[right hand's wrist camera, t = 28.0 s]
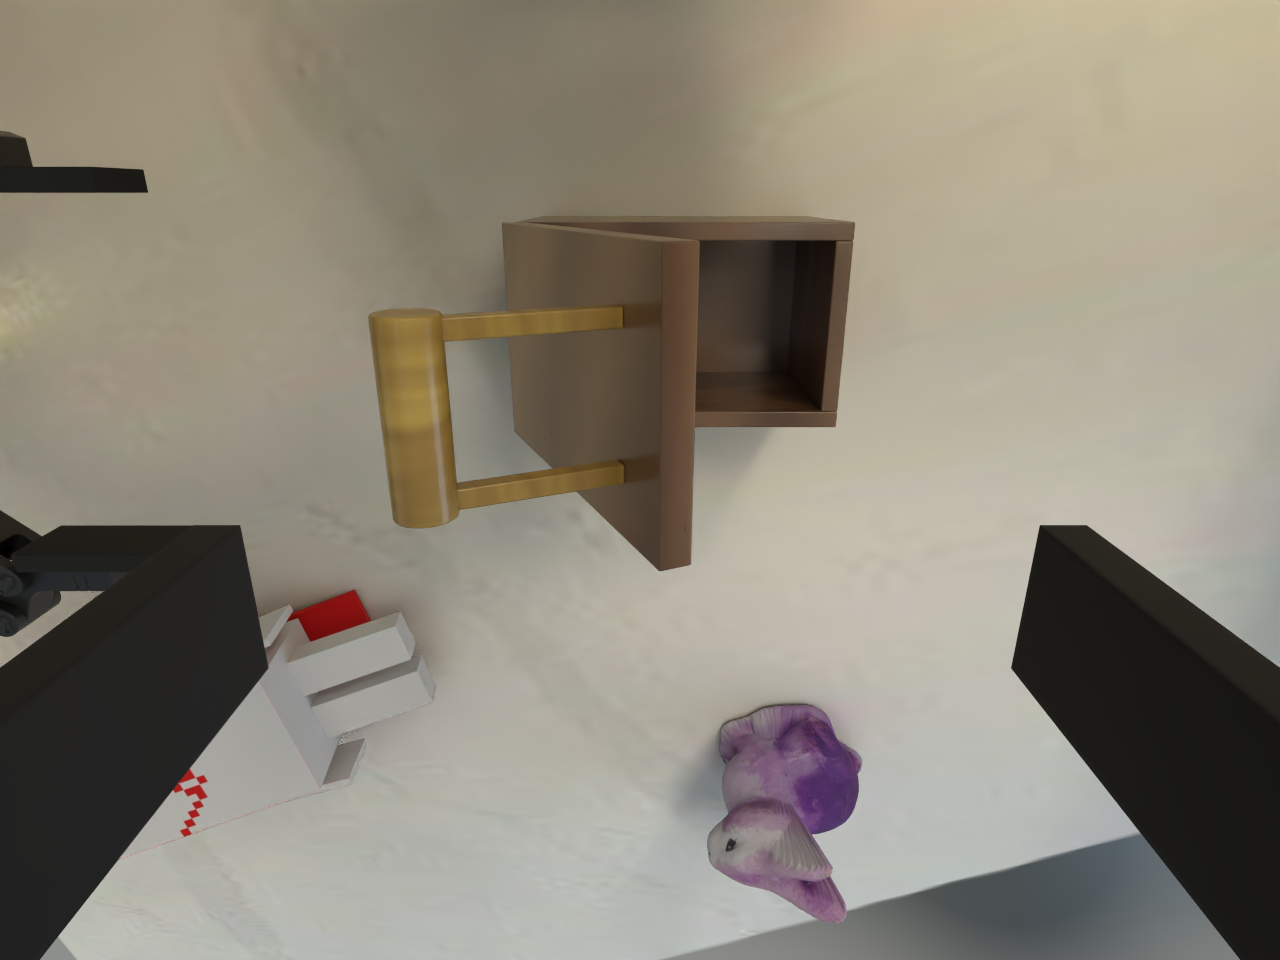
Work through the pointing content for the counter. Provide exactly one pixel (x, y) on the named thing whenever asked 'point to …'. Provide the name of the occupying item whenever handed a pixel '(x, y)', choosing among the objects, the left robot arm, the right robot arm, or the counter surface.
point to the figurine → (784, 805)
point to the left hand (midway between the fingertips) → (167, 379)
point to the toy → (298, 716)
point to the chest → (760, 313)
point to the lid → (561, 385)
